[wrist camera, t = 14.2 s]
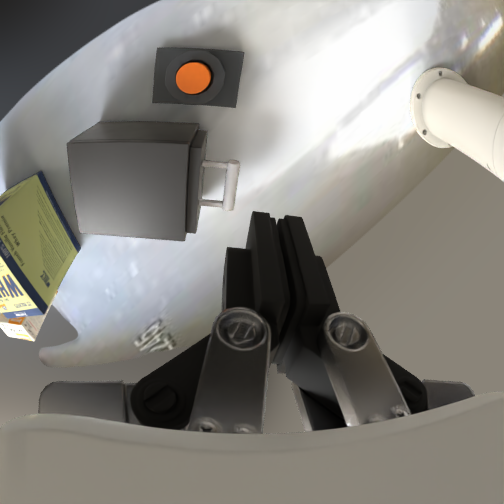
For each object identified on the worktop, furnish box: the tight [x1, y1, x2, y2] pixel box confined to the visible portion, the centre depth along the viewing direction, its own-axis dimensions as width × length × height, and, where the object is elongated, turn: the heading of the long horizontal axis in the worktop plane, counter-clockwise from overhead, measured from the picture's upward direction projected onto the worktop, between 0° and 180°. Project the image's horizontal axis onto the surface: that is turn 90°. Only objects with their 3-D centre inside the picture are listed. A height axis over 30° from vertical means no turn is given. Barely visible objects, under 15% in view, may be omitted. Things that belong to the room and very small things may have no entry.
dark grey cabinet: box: [67, 121, 199, 241], centre depth 32 cm, size 14×12×9 cm
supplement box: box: [0, 291, 58, 341], centre depth 43 cm, size 8×5×13 cm, turn 92°
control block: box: [152, 48, 244, 108], centre depth 28 cm, size 10×7×3 cm
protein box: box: [0, 171, 81, 319], centre depth 33 cm, size 10×16×16 cm
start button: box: [176, 62, 211, 94], centre depth 27 cm, size 4×4×2 cm
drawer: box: [186, 130, 240, 233], centre depth 33 cm, size 17×10×7 cm, turn 82°
